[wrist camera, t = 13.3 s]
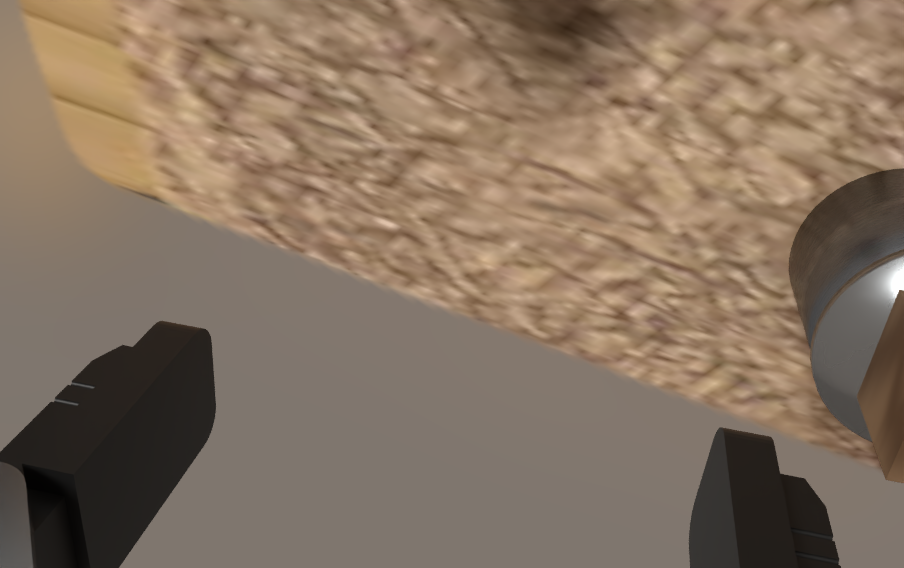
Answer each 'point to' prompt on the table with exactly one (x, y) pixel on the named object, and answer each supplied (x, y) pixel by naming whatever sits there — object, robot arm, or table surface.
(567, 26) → the table surface
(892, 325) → the walnut block
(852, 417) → the metal tin
